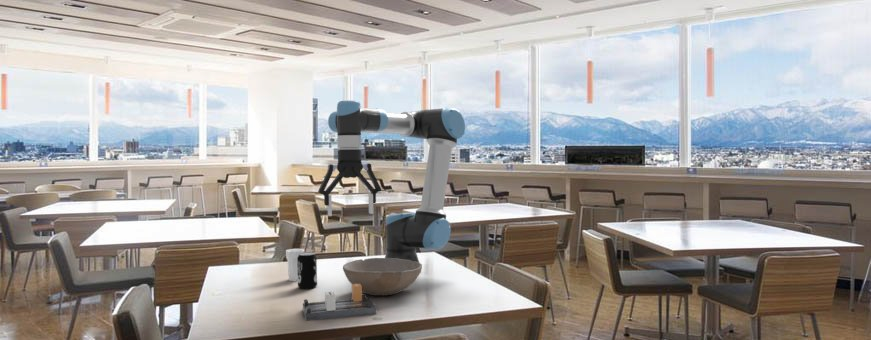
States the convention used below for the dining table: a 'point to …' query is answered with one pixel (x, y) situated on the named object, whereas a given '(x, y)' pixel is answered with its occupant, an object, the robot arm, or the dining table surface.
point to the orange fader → (356, 292)
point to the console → (339, 309)
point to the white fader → (330, 301)
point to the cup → (293, 263)
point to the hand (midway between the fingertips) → (350, 214)
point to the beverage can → (307, 270)
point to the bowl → (382, 274)
